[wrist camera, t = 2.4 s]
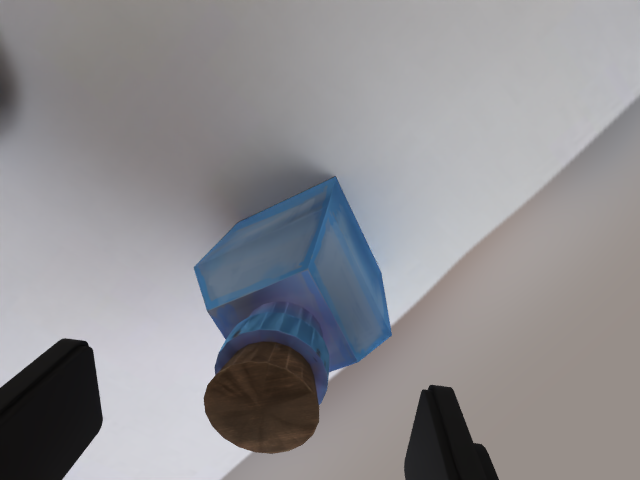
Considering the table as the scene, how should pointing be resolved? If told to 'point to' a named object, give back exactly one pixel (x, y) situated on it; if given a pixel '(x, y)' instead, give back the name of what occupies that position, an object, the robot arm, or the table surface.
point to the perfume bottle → (288, 316)
